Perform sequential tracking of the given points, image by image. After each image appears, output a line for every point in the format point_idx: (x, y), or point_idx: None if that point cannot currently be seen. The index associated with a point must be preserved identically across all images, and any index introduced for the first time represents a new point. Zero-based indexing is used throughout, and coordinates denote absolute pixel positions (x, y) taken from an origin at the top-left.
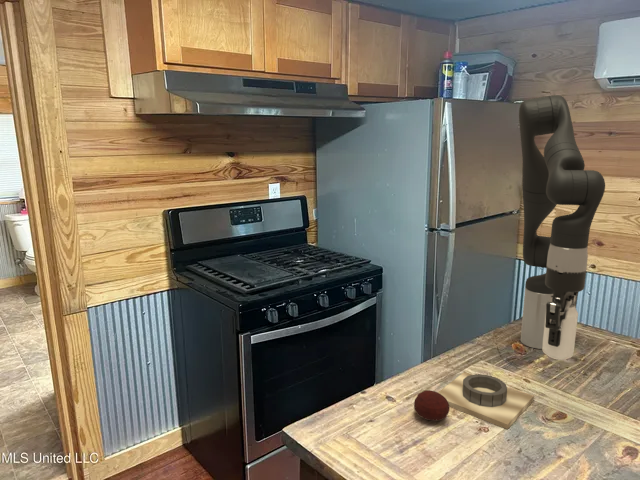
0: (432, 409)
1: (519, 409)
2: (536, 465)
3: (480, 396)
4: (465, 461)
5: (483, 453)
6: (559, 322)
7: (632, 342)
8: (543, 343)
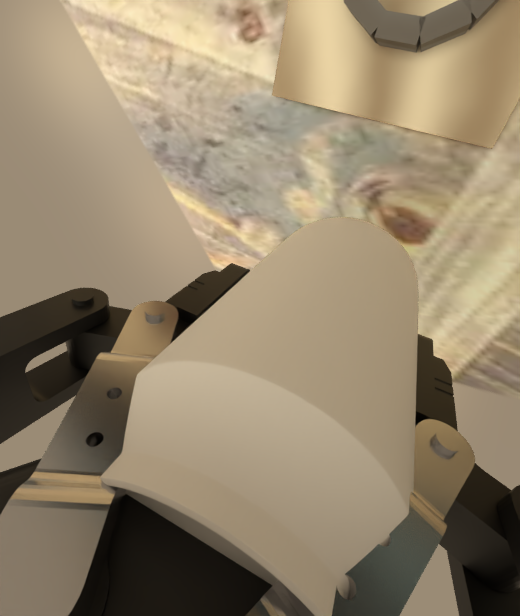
0: None
1: (371, 113)
2: (188, 181)
3: None
4: (116, 29)
5: (161, 62)
6: (66, 392)
7: None
8: (304, 232)
